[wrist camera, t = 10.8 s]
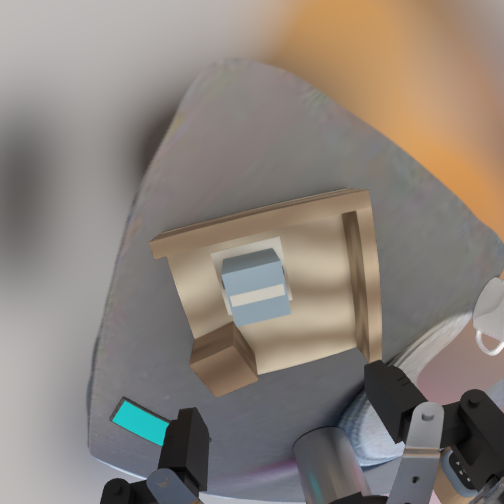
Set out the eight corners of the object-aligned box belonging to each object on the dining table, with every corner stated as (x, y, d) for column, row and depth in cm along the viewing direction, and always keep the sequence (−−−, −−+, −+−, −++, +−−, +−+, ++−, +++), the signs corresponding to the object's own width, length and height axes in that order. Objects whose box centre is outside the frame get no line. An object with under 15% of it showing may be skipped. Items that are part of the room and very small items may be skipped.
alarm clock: (482, 425, 46) (517, 466, 25) (469, 445, 48) (500, 485, 27) (435, 451, 45) (469, 504, 24) (421, 470, 47) (450, 520, 26)
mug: (529, 287, 24) (539, 303, 25) (490, 269, 33) (505, 286, 34) (492, 360, 26) (506, 368, 27) (457, 333, 35) (475, 343, 36)
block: (272, 247, 28) (280, 260, 23) (281, 293, 29) (291, 314, 24) (223, 259, 28) (221, 275, 23) (235, 304, 29) (236, 327, 24)
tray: (364, 338, 33) (381, 359, 28) (213, 377, 33) (211, 405, 28) (346, 188, 28) (368, 189, 23) (162, 232, 28) (148, 242, 23)
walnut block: (254, 353, 31) (258, 380, 26) (217, 370, 31) (216, 397, 26) (233, 320, 30) (233, 345, 25) (194, 339, 30) (188, 365, 25)
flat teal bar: (122, 398, 33) (212, 441, 35) (124, 394, 33) (212, 437, 36) (108, 420, 34) (190, 459, 36) (110, 417, 34) (190, 455, 37)
